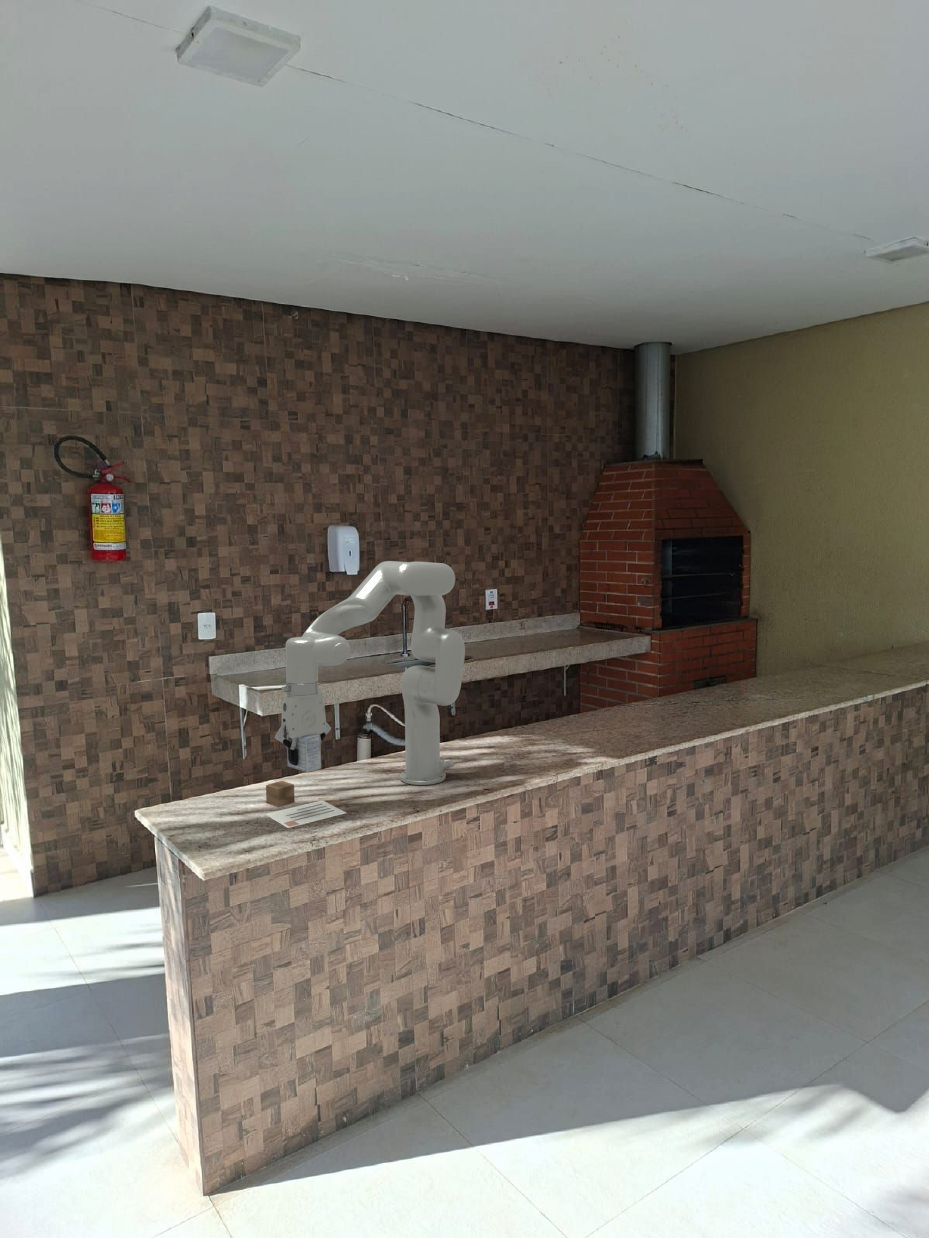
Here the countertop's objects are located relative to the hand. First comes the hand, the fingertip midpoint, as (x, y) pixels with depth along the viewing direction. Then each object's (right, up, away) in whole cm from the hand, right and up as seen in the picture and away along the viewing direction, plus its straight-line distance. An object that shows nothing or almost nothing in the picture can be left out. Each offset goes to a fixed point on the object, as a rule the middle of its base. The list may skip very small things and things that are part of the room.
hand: (304, 761), depth 213 cm
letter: (0, -13, +2) cm, 13 cm away
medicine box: (0, -2, 0) cm, 2 cm away
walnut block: (-8, -12, +10) cm, 18 cm away
